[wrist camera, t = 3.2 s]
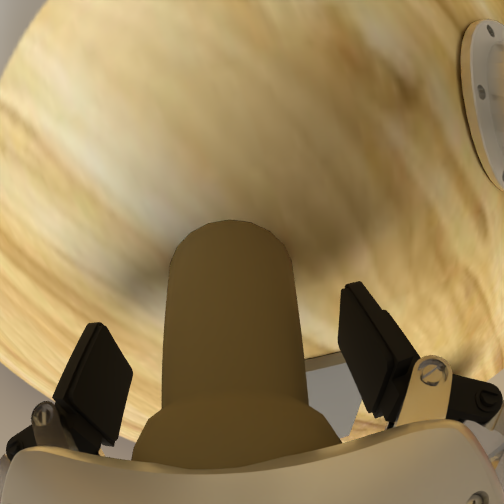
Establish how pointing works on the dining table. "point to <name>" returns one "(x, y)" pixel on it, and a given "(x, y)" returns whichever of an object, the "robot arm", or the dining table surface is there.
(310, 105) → the dining table surface
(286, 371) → the brown pawn
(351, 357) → the robot arm
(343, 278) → the dining table surface
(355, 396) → the tile
